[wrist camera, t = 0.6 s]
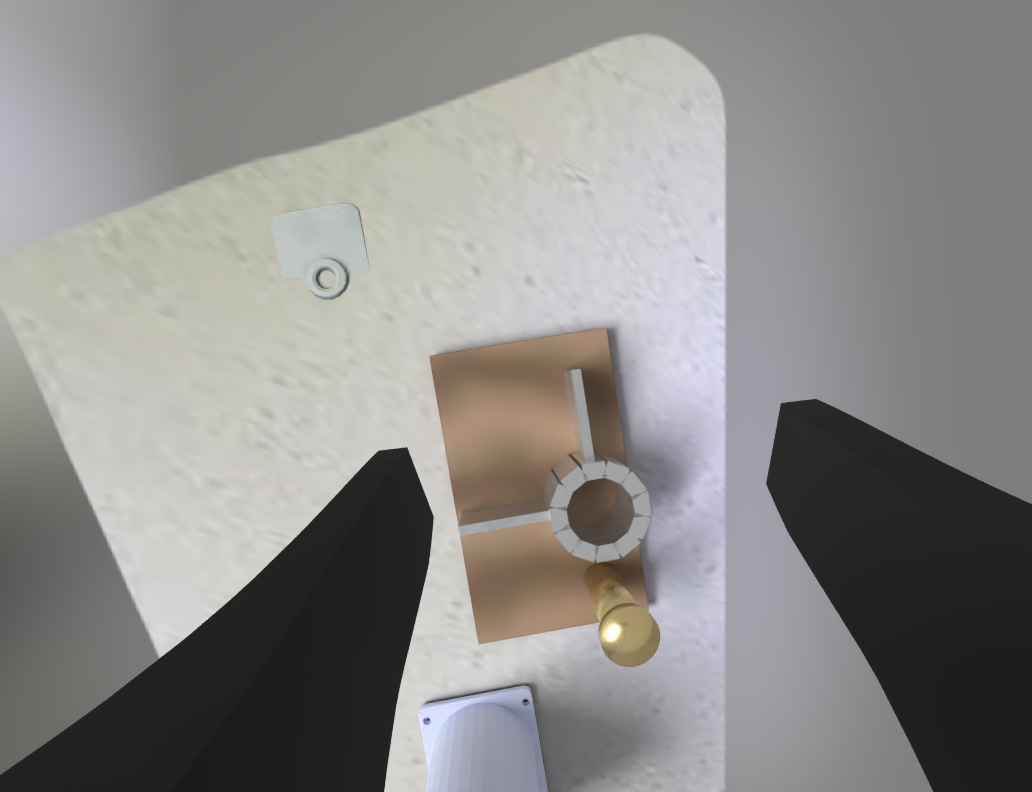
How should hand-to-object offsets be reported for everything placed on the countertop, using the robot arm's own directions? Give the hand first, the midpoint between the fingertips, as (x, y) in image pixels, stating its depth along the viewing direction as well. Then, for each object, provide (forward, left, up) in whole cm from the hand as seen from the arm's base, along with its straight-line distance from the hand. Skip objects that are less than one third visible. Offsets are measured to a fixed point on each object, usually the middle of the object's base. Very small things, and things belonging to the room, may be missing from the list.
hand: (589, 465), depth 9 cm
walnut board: (-6, 0, -22) cm, 23 cm away
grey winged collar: (-4, 0, -21) cm, 22 cm away
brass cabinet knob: (-13, -3, -21) cm, 25 cm away
